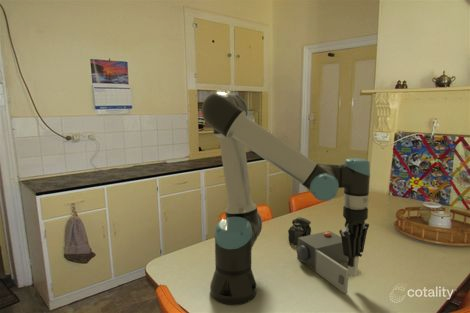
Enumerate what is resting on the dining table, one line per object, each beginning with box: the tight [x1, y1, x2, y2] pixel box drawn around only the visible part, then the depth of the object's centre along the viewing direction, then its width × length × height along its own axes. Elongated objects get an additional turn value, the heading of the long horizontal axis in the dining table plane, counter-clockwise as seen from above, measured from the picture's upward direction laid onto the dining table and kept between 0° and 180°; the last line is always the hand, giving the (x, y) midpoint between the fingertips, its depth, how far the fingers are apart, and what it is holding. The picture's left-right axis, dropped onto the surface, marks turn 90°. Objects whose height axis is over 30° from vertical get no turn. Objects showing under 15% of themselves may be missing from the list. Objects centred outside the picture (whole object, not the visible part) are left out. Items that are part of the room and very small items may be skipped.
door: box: [313, 250, 349, 294], centre depth 110 cm, size 16×2×8 cm, turn 23°
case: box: [296, 230, 348, 270], centre depth 126 cm, size 18×11×10 cm, turn 116°
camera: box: [287, 216, 312, 246], centre depth 146 cm, size 13×10×10 cm
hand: (352, 274), depth 108 cm, fingers closed
